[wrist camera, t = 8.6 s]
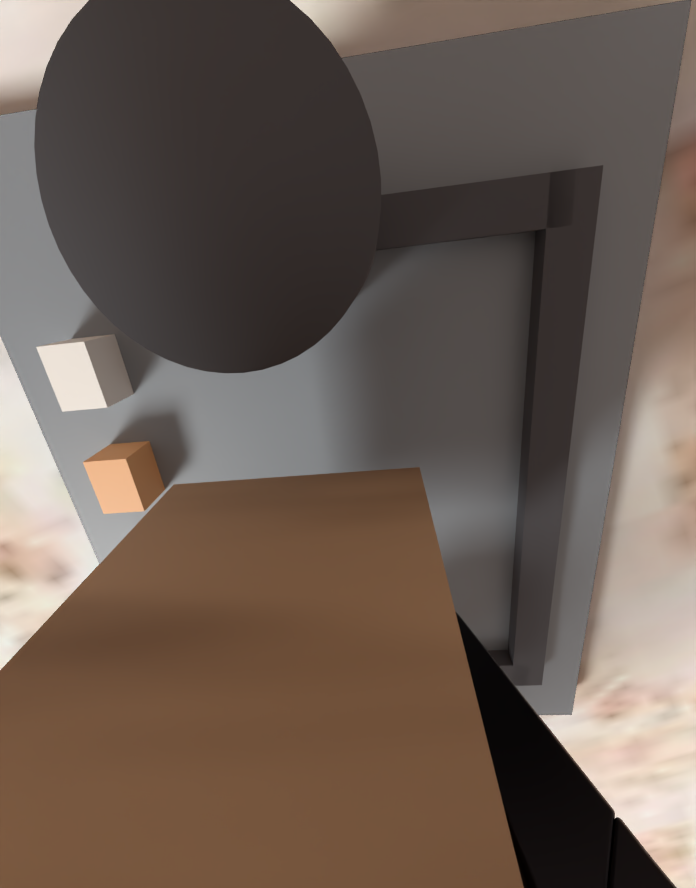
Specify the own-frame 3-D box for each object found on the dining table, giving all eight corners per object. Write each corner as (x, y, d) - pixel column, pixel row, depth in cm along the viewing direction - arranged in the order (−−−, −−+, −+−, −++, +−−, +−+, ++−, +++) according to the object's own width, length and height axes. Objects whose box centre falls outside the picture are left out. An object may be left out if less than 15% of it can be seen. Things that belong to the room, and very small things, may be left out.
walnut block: (427, 651, 10) (535, 1394, 3) (227, 657, 10) (-20, 1319, 4) (419, 467, 8) (650, 1393, 1) (173, 484, 8) (-531, 1240, 2)
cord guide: (532, 697, 15) (604, 888, 10) (306, 701, 16) (279, 880, 11) (598, 81, 8) (915, -185, 3) (183, 144, 9) (-30, 2, 4)
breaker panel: (562, 694, 16) (587, 749, 14) (176, 701, 17) (152, 752, 15) (662, 24, 8) (748, -50, 6) (-54, 141, 10) (-155, 110, 8)
